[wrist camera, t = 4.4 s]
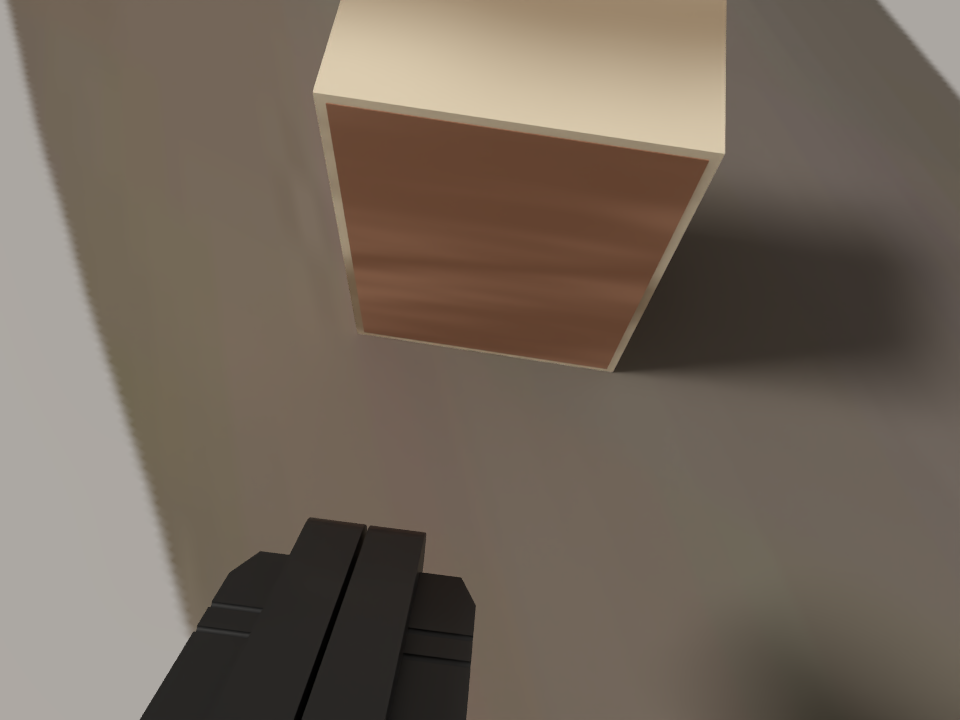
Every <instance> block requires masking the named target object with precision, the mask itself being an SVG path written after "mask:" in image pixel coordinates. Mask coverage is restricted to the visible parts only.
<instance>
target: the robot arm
mask: <svg viewBox="0 0 960 720" xmlns="http://www.w3.org/2000/svg"><path fill="white" fill-rule="evenodd" d="M425 543H426V533H424V532H417V531H409V530H401V529H394V528H386V527H378V526H370V527H369V528H368V531H367V526H366V525H364V524H357V523H349V522H341V521H334V520H326V519H318V518H311V517H310V518H309V519H308V520H307V522H306V523H305V525H304V527H303V529H302V531H301V533H300V535H299V537H298V539H297V541H296V543H295V545H294V547H293V549H292V551H291V553H290V555H285V554H278V553H270V552H262V551H260V552H259V553H257V554H256V555H254V556H253V557H251V558H250V559H249V560H247V561H246V562H244V563H243V564H241V565H240V566H239V567H237V568H236V569H234V570H233V571H231V572H230V573H229V574H228V576H227V578H226V579H225V581H224V582H223V584H222V586H221V587H220V589H219V591H218V592H217V594H216V596H215V597H214V599H213V600H212V605H211V607H208V609H207V610H206V612H205V614H204V615H203V617H202V619H201V620H200V622H199V623H198V625H197V630H196V632H193V633H192V635H191V637H190V638H189V640H188V641H187V643H186V645H185V646H184V648H183V650H182V652H181V653H180V655H179V656H178V658H177V660H176V661H175V663H174V664H173V666H172V668H171V669H170V671H169V673H168V674H167V676H166V678H165V679H164V681H163V683H162V684H161V686H160V687H159V689H158V691H157V692H156V694H155V696H154V697H153V699H152V700H151V702H150V704H149V705H148V707H147V709H146V710H145V712H144V714H143V715H142V717H141V719H140V720H466V714H467V702H468V691H469V679H470V665H471V655H472V643H473V642H472V641H473V631H474V620H475V608H476V605H475V603H474V601H473V599H472V597H471V595H470V594H469V592H468V590H467V588H466V586H465V584H464V582H463V580H462V578H460V577H452V576H444V575H437V574H429V573H422V571H423V562H424V553H425Z"/></svg>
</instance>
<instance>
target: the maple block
mask: <svg viewBox="0 0 960 720" xmlns="http://www.w3.org/2000/svg"><path fill="white" fill-rule="evenodd" d="M725 90H726V0H341V2H340V5H339V8H338V11H337V15H336V18H335V21H334V24H333V28H332V31H331V34H330V37H329V41H328V44H327V47H326V50H325V54H324V57H323V60H322V63H321V67H320V70H319V73H318V76H317V80H316V83H315V86H314V89H313V97H314V102H315V108H316V113H317V118H318V124H319V129H320V134H321V140H322V145H323V151H324V156H325V161H326V167H327V172H328V177H329V183H330V188H331V194H332V199H333V204H334V210H335V215H336V220H337V226H338V231H339V236H340V242H341V247H342V253H343V258H344V263H345V269H346V274H347V279H348V285H349V290H350V295H351V301H352V306H353V312H354V317H355V322H356V328H357V333H358V334H364V335H370V336H377V337H384V338H390V339H397V340H403V341H410V342H416V343H423V344H430V345H436V346H443V347H449V348H456V349H463V350H469V351H476V352H482V353H489V354H495V355H502V356H509V357H515V358H522V359H528V360H535V361H541V362H548V363H555V364H561V365H568V366H574V367H581V368H587V369H594V370H601V371H607V372H613V371H614V369H615V367H616V365H617V363H618V361H619V359H620V357H621V355H622V354H623V352H624V350H625V348H626V346H627V344H628V342H629V340H630V338H631V336H632V334H633V332H634V330H635V328H636V326H637V324H638V322H639V320H640V318H641V316H642V315H643V313H644V311H645V309H646V307H647V305H648V303H649V301H650V299H651V297H652V295H653V293H654V291H655V289H656V287H657V285H658V283H659V281H660V279H661V278H662V276H663V274H664V272H665V270H666V268H667V266H668V264H669V262H670V260H671V258H672V256H673V254H674V252H675V250H676V248H677V246H678V244H679V242H680V240H681V239H682V237H683V235H684V233H685V231H686V229H687V227H688V225H689V223H690V221H691V219H692V217H693V215H694V213H695V211H696V209H697V207H698V205H699V203H700V201H701V200H702V198H703V196H704V194H705V192H706V190H707V188H708V186H709V184H710V182H711V180H712V178H713V176H714V174H715V172H716V170H717V168H718V166H719V164H720V163H721V161H722V159H723V157H724V155H725Z"/></svg>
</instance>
